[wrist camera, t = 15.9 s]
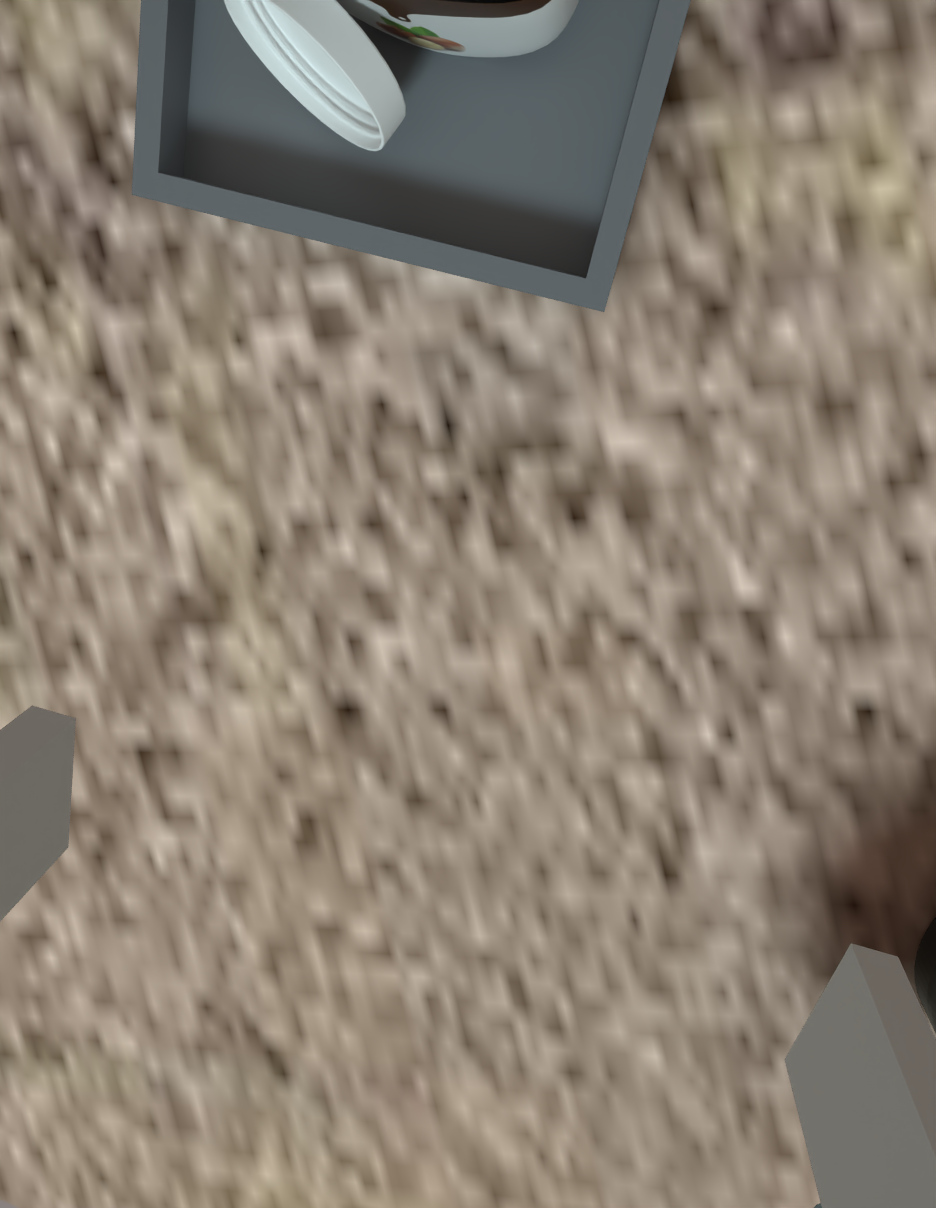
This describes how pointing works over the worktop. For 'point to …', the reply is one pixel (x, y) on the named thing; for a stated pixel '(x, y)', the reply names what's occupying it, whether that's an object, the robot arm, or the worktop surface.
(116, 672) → the worktop surface
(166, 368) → the worktop surface
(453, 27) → the spread jar
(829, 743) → the worktop surface
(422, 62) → the tray
